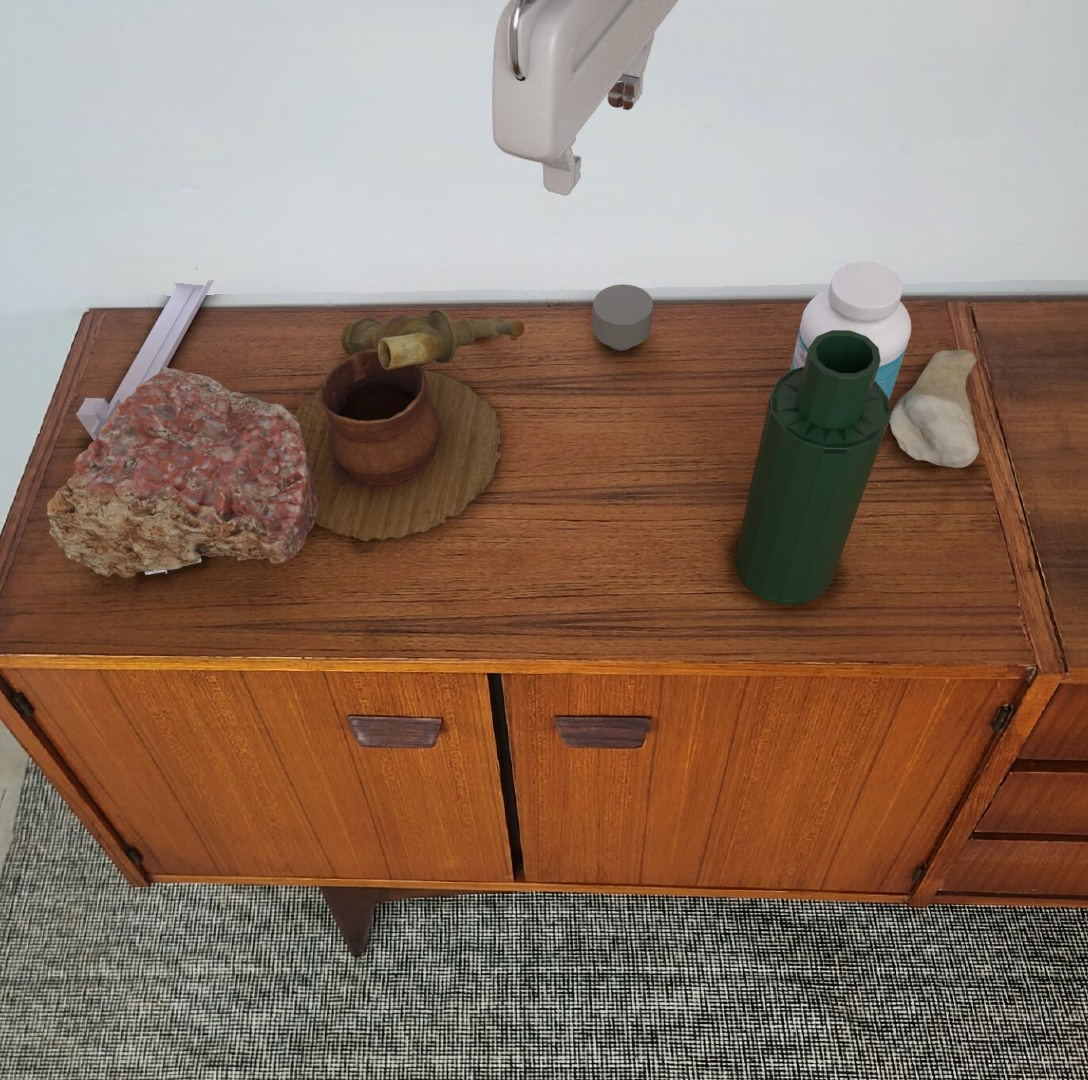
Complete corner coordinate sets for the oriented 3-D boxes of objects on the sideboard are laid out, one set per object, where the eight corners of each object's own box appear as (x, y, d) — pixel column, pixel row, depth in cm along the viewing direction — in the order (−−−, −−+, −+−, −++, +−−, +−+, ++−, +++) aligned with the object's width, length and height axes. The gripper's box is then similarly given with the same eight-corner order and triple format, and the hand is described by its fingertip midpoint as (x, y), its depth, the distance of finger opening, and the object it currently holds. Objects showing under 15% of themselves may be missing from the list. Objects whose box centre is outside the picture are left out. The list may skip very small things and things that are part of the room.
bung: (649, 322, 91) (652, 284, 87) (650, 362, 88) (653, 324, 85) (592, 321, 91) (593, 284, 88) (591, 361, 88) (592, 324, 85)
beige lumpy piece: (970, 479, 79) (990, 434, 75) (881, 468, 80) (897, 423, 76) (968, 372, 85) (987, 325, 81) (886, 364, 86) (901, 317, 82)
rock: (152, 435, 87) (68, 582, 78) (117, 341, 78) (19, 493, 70) (355, 472, 84) (291, 627, 76) (340, 379, 76) (266, 541, 68)
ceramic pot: (227, 471, 84) (202, 408, 78) (375, 339, 91) (361, 272, 85) (404, 579, 77) (391, 518, 71) (548, 427, 84) (546, 360, 78)
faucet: (294, 321, 86) (448, 300, 94) (302, 374, 88) (453, 348, 96) (388, 324, 75) (553, 300, 83) (395, 384, 76) (557, 355, 84)
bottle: (828, 527, 77) (899, 312, 61) (838, 606, 74) (916, 398, 57) (733, 525, 78) (777, 311, 62) (738, 603, 74) (786, 397, 58)
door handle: (172, 250, 95) (202, 249, 94) (186, 277, 97) (215, 277, 97) (69, 425, 83) (102, 426, 83) (87, 451, 86) (120, 452, 85)
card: (146, 580, 78) (145, 577, 78) (139, 553, 80) (138, 551, 79) (265, 540, 80) (264, 537, 80) (256, 515, 81) (255, 512, 81)
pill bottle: (884, 400, 84) (932, 258, 73) (870, 469, 80) (919, 331, 69) (788, 381, 86) (821, 240, 75) (770, 448, 82) (802, 310, 71)
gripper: (572, 8, 49) (570, 257, 60) (728, -175, 59) (701, 69, 70) (450, -17, 51) (471, 229, 62) (621, -190, 61) (612, 50, 72)
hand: (594, 143), depth 66 cm, fingers open, 8 cm apart
